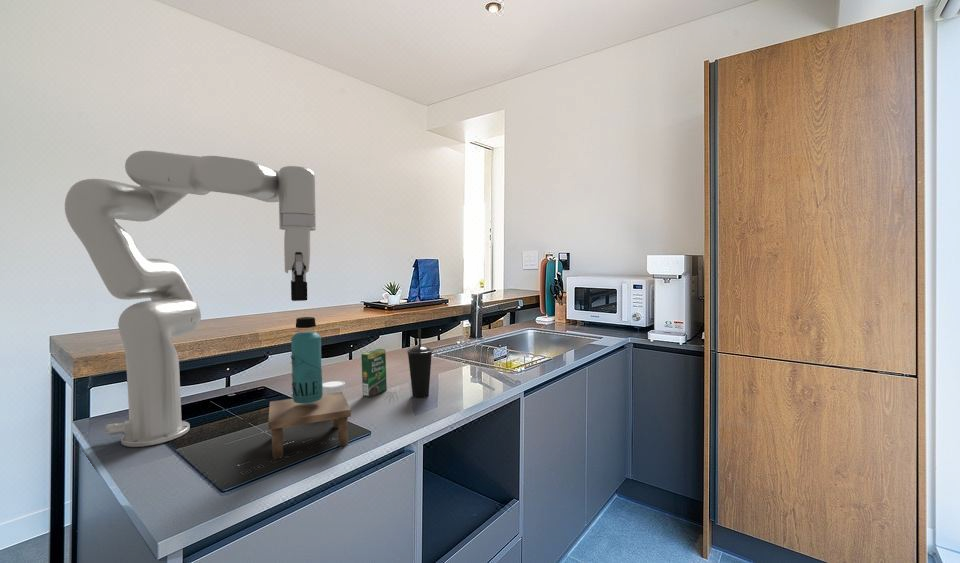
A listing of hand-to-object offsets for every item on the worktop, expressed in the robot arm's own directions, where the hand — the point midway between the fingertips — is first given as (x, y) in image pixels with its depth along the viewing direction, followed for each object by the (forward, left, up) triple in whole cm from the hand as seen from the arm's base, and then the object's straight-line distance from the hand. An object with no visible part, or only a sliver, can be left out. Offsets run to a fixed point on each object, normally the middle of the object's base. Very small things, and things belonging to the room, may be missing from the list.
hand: (298, 298), depth 94 cm
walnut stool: (+1, -3, -32) cm, 32 cm away
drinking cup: (+33, +16, -32) cm, 49 cm away
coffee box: (+21, +24, -32) cm, 45 cm away
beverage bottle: (+1, -3, -24) cm, 24 cm away
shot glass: (+8, +16, -32) cm, 37 cm away
